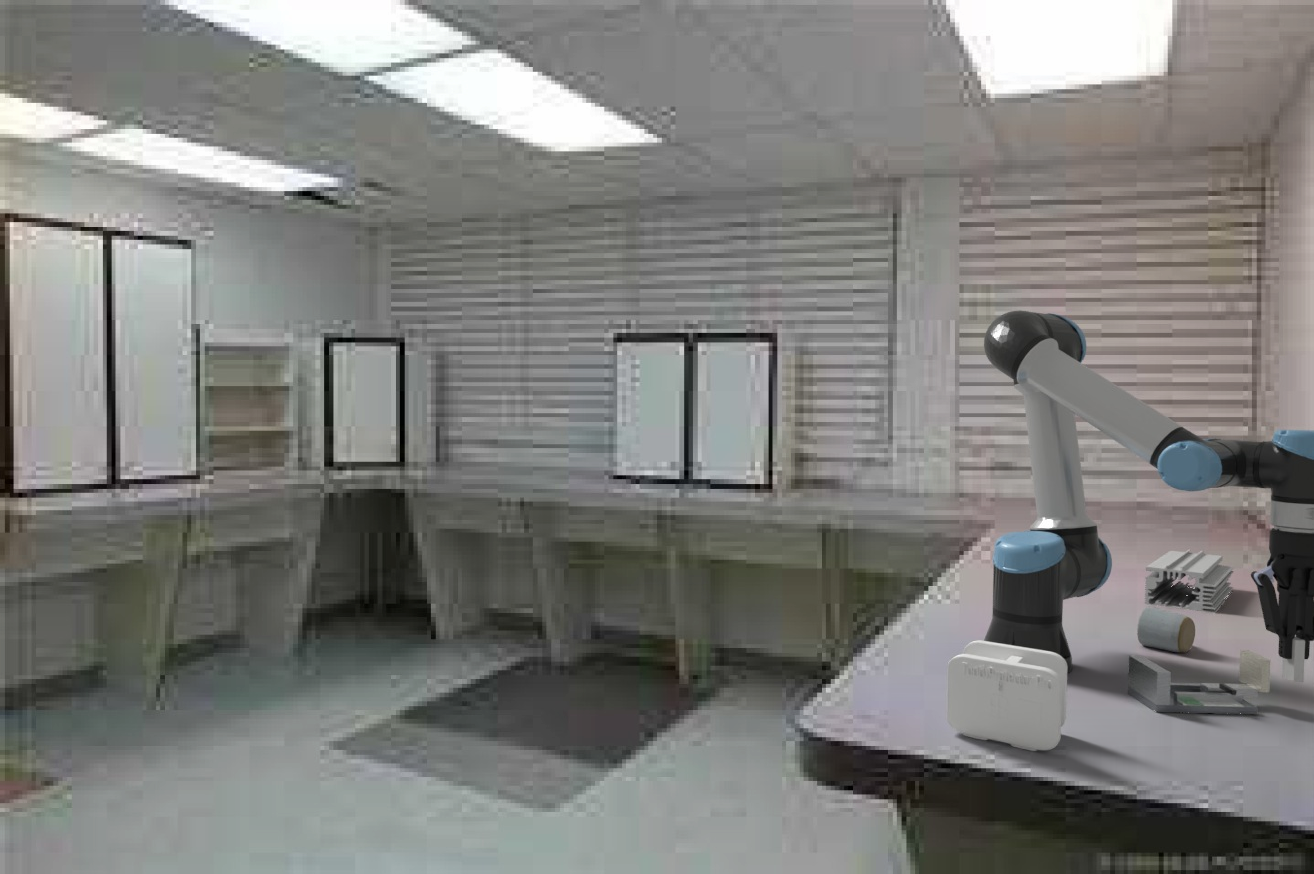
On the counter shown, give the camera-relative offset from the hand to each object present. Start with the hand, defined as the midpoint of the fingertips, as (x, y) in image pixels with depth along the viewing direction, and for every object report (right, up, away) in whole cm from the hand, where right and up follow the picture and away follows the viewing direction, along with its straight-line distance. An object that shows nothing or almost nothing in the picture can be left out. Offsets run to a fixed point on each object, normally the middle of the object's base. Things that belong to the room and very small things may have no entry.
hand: (1292, 678), depth 140 cm
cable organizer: (-50, -5, -13) cm, 52 cm away
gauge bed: (-16, -4, +1) cm, 16 cm away
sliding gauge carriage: (-9, -3, 0) cm, 10 cm away
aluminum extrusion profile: (+31, -2, +79) cm, 85 cm away
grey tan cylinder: (-1, -3, +33) cm, 34 cm away
